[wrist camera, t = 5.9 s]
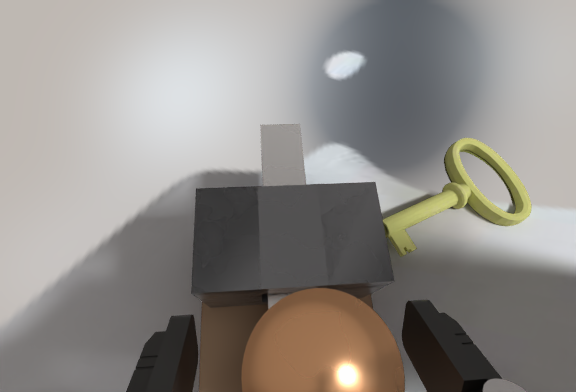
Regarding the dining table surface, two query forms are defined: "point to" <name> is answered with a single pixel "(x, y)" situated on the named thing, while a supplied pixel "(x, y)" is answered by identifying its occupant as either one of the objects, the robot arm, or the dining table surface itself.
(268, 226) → the block
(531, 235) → the dining table surface
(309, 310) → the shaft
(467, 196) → the key
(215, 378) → the base board
